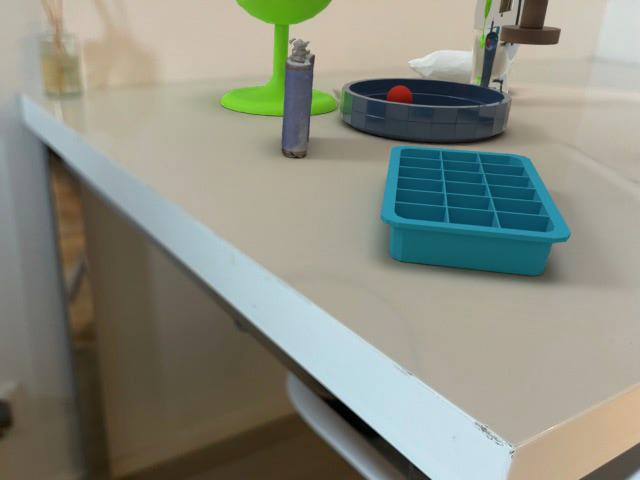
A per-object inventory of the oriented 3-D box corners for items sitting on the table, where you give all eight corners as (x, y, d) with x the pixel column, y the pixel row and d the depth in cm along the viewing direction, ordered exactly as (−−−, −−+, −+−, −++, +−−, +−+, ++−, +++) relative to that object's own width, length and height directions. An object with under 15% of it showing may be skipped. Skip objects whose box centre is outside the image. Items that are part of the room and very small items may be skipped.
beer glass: (465, 95, 100) (482, -14, 93) (513, 100, 97) (535, -12, 90) (456, 103, 94) (474, -13, 87) (507, 108, 91) (530, -11, 85)
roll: (407, 81, 110) (411, 45, 108) (482, 86, 107) (488, 50, 105) (403, 87, 105) (408, 49, 103) (482, 92, 102) (489, 54, 100)
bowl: (476, 110, 90) (481, 79, 88) (530, 146, 72) (537, 109, 71) (332, 106, 90) (334, 76, 88) (351, 142, 72) (354, 105, 70)
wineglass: (241, 118, 81) (243, -45, 73) (207, 95, 95) (205, -46, 87) (358, 112, 86) (371, -42, 78) (309, 91, 100) (317, -43, 92)
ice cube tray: (520, 188, 59) (527, 155, 57) (563, 285, 41) (575, 240, 40) (388, 176, 61) (391, 144, 60) (374, 264, 43) (379, 220, 42)
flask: (306, 158, 66) (312, 44, 61) (277, 157, 66) (281, 43, 61) (310, 137, 74) (316, 35, 69) (284, 135, 74) (288, 34, 70)
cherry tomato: (407, 109, 86) (410, 84, 85) (412, 114, 83) (416, 88, 82) (383, 108, 86) (385, 83, 85) (387, 113, 83) (390, 87, 82)
